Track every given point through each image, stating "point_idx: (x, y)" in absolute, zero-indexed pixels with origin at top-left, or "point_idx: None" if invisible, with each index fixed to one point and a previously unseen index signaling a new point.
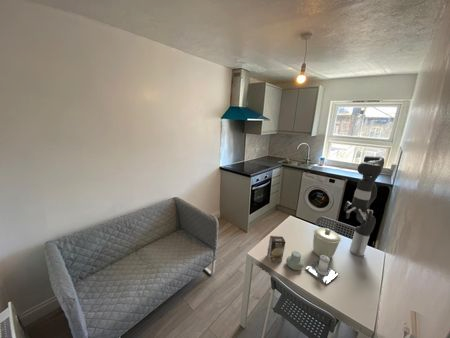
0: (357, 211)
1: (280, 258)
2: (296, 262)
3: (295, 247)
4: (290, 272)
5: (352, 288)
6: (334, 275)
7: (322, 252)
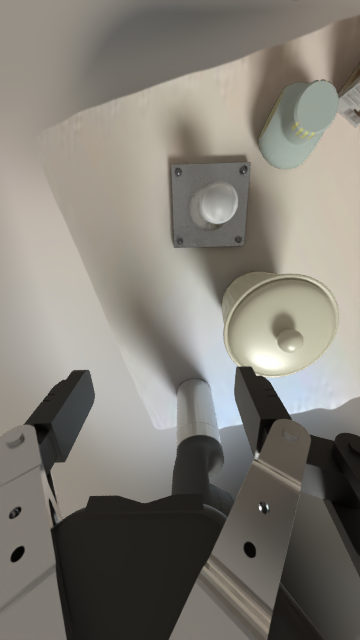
0: (129, 543)
1: (348, 85)
2: (288, 103)
3: (328, 242)
4: (277, 85)
5: (127, 237)
6: (177, 229)
7: (248, 275)
